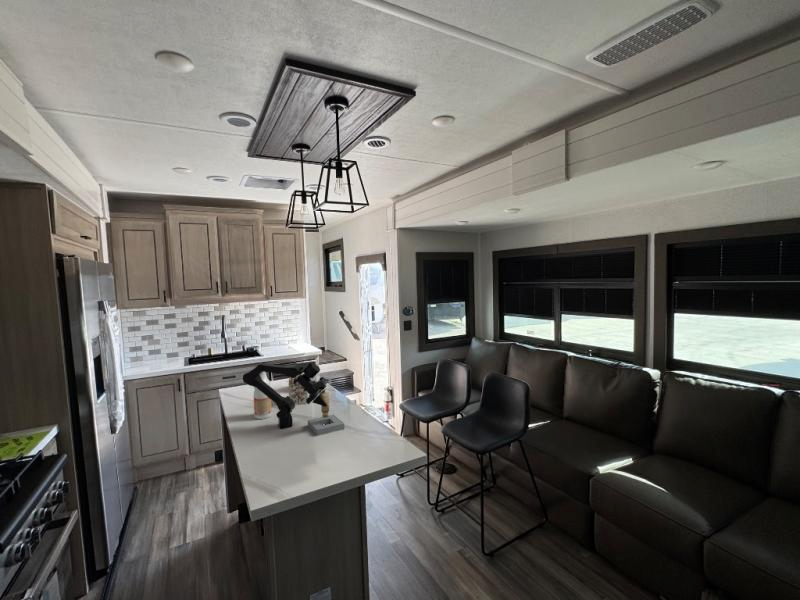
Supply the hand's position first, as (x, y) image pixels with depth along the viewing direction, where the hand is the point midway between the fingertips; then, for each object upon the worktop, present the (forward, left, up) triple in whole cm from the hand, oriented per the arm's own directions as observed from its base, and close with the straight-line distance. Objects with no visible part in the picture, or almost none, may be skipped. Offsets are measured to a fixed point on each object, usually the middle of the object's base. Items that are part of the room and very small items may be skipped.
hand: (327, 404), depth 199 cm
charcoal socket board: (-1, +1, -12) cm, 13 cm away
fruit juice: (-26, +36, -13) cm, 46 cm away
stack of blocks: (+10, +75, -13) cm, 77 cm away
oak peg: (-1, +1, -7) cm, 7 cm away
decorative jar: (-1, +49, -13) cm, 51 cm away
